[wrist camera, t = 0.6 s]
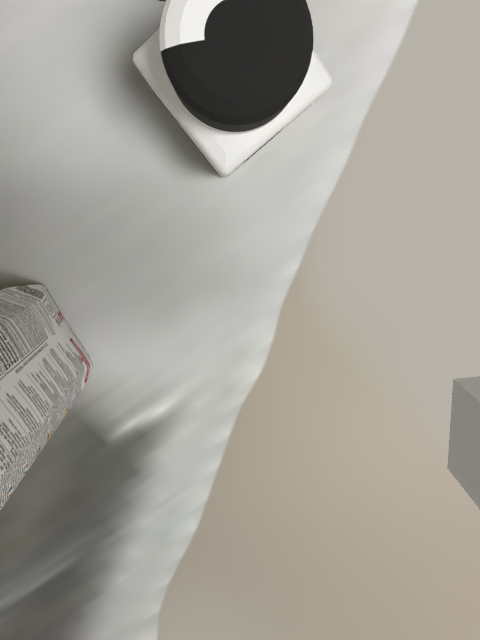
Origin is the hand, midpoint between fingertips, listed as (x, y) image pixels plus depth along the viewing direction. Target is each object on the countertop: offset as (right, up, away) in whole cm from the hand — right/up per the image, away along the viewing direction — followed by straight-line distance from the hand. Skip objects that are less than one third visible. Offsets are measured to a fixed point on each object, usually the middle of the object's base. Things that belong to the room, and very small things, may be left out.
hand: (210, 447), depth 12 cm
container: (0, +19, +19) cm, 27 cm away
